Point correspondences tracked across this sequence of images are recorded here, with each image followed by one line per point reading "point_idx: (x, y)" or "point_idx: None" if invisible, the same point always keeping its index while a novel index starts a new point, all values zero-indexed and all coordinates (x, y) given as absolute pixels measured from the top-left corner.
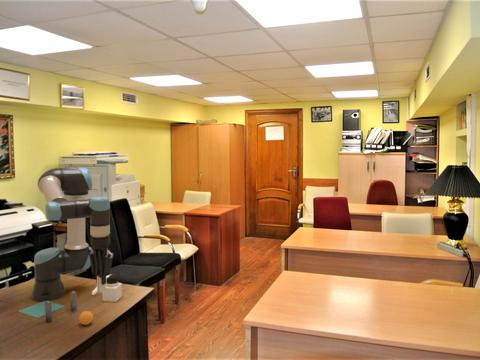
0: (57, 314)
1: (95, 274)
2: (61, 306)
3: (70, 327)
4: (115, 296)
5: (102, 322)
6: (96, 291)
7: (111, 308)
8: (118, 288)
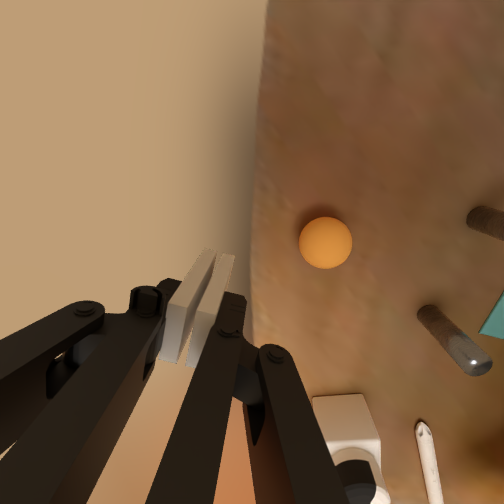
0: (474, 274)
1: (237, 333)
2: (492, 330)
3: (364, 197)
4: (317, 413)
5: (271, 261)
6: (419, 443)
7: (301, 355)
8: None
